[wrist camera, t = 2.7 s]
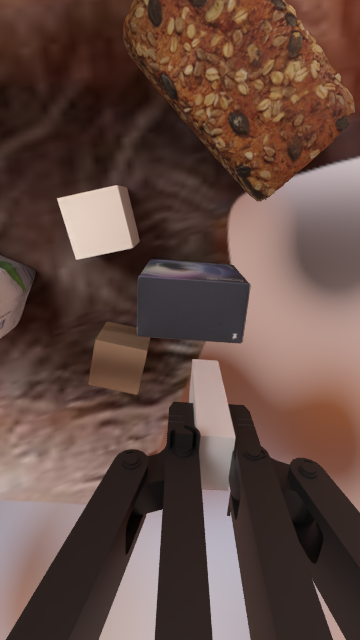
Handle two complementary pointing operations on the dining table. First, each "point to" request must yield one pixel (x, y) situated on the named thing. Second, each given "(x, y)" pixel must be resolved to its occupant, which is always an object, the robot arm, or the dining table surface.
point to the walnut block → (118, 358)
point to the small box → (192, 301)
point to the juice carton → (13, 292)
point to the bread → (242, 83)
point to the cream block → (99, 221)
